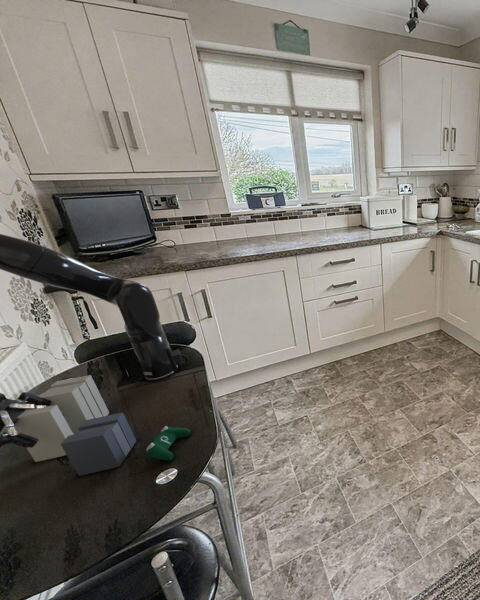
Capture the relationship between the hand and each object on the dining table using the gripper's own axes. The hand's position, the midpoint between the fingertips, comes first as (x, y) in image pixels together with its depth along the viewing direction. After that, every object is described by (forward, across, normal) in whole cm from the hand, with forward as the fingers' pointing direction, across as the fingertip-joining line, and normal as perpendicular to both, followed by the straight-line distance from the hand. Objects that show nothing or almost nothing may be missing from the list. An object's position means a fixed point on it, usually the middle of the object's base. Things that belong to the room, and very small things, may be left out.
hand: (49, 430), depth 78 cm
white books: (+4, +11, +6) cm, 14 cm away
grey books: (+14, -5, -3) cm, 15 cm away
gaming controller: (+24, -6, -13) cm, 28 cm away
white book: (+4, +1, +6) cm, 8 cm away
